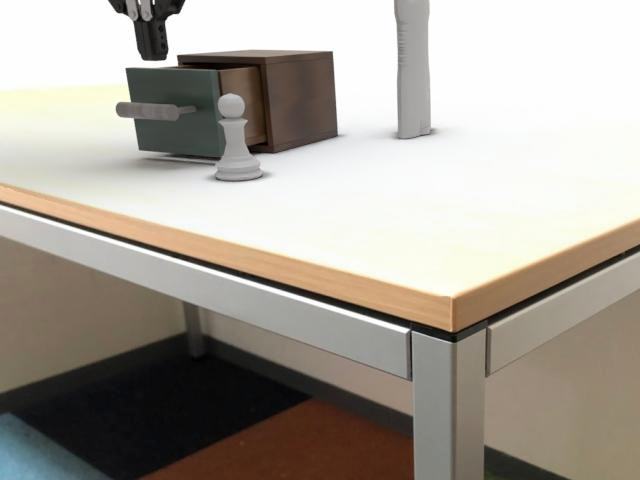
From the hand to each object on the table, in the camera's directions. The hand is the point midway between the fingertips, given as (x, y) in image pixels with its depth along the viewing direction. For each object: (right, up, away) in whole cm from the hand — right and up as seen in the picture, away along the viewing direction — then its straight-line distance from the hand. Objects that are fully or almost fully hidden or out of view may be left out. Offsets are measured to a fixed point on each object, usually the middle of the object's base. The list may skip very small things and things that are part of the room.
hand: (154, 60), depth 77 cm
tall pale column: (+26, -1, +25) cm, 36 cm away
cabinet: (+7, -3, +19) cm, 20 cm away
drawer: (+2, -7, +9) cm, 11 cm away
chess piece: (+9, -13, -2) cm, 16 cm away
